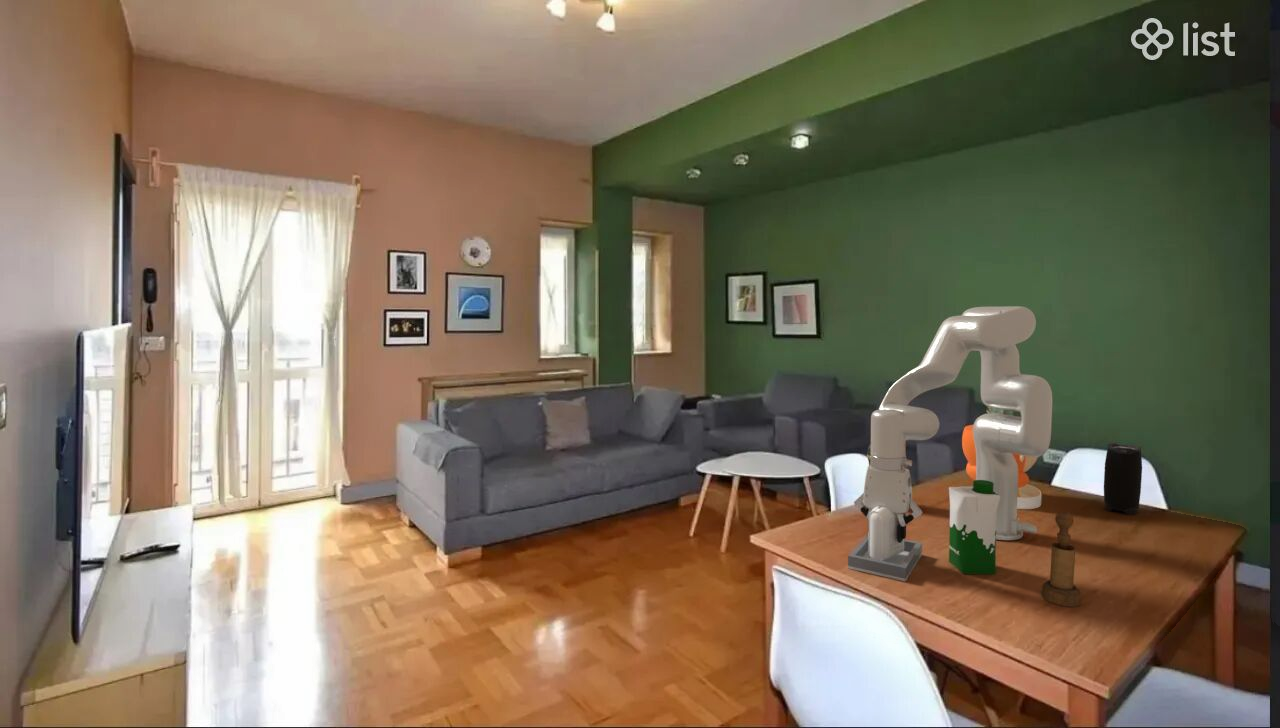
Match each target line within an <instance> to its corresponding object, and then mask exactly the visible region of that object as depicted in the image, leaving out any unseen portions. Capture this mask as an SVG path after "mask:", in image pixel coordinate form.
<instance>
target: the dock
mask: <svg viewBox="0 0 1280 728" xmlns="http://www.w3.org/2000/svg"><path fill="white" fill-rule="evenodd" d="M922 554H923V543H922V542H920V541H914V540H910V539H906V538H905V539H904V551H903V552H901V553H899V554H897V555H894V556H892V557H890V558H887V559H884V560H875V559H873V558H871V557H870V556H869V554H868V534H867V535H865V537H864V538H863V539H862V540H861V541H860V543H858V544H857V545H856V547H854V548H853V550H851V552H850V553H849V554H848V555H847V568H848V569H850V570H854V571H857V572H858V571H859V572H863V573H867V574H872V575H874V576H875V575H876V576H881V577H884V578H889V579H893V580H897V581H901V582H906V581H907V580H908V577H909V576H910V575H911V573H912V571H913V570H914V568H915V566H916V565H917V563H918V562H919V560H920V559H921V557H922V556H923V555H922Z"/></svg>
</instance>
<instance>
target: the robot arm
mask: <svg viewBox="0 0 1280 728" xmlns="http://www.w3.org/2000/svg"><path fill="white" fill-rule="evenodd" d="M1036 324H1037V321H1036V316H1035V314H1034V313H1033V311H1032V310H1031V309H1030V308H1027V307H1026V306H1020V305H1019V306H1016V305H1015V306H1013V305H1012V306H1009V305H1008V306H1006V305H1005V306H976V307H971V308H968V309H966V310H965V311H963V312H962V314H961V315H953V316H949V317H948V318H946V319H944V320H943V321H942V323H941V324H940V326H939V328H938V329H937V332H935V333H936V334H935V335H934V337H933V340H932V341H931V343H930V345H929V347H928V349H927V351H926V352H925V354H924V356H923V358H922V360H921V362H920V363H919V365H918V366H916V367H915V368H913V369H911V370H910V371H908V372H906V373H905V374H904V375H903V376H902V377H899V379H897V380H896V381H895V382H894V383H893V384H892V385H891V387H890V388H889V389H888V391H887V392H886V394H885V396H884V397H883V399H882V401H881V403H880V404H879V405H880V406H879V408H878V409H876V410H874V411H873V412H872V413H871V416H870V444H871V464H870V465H869V464H868V466H867V469H866V473H865V480H864V485H863V486H864V487H863V493H862V494H861V495H860V496H858V498H856V499H855V500H854V501H853V504H854V505H855V507H857V508H858V509H859V510H860V512H861V514H863V516H864V517H865V518H866V520H867V521H868V522H867V532H869V514H870V512H871V511H872V510H873V509H874V508H875V507H877V506H881V507H883V506H885V507H887V508H888V509H889V510H890V511H891V512H892V513H896V514H897V517H898V519H899V525H898V528H897V542H899V543H901V542H902V541H903V539H905V540H906V538H907V525H908V524H909V523H911V522H912V521H913V520H915V519H917V518H918V517H921V515H922V514H923V511H922V509H921V508H920V507H919V506H918V503H916V501H914V500H913V491H912V490H913V489H912V478H911V473H910V469H908V468H907V467H912V466H913V460H910V459H908V458H907V456H906V442H907V441H927V440H929V439H931V438H933V437H934V436H935V435H936V434H937V433H938V431H939V430H940V429H939V428H940V419H939V418H938V415H936V413H935V412H934V411H932V410H930V409H927V408H924V407H917V406H912V405H909V403H910V402H912V401H913V399H915V398H916V397H918V396H919V395H921V394H923V393H925V392H927V391H930V390H934V389H937V388H941V387H943V386H947V385H949V384H951V383H952V382H954V381H955V380H956V379H957V378H958V375H959V373H960V371H961V369H962V367H963V365H964V364H965V361H966V360H967V357H968V355H969V354H970V352H973V351H977V352H979V353H980V365H981V366H980V396H981V397H980V399H981V402H982V403H983V404H984V405H985V406H986V407H990V408H991V407H992V408H996V409H1002V410H1009V411H1016V412H1021V417H1017V416H1011V415H1005V414H997V413H988V412H987V413H984V414H982V415H980V416H978V417H977V418H976V419H975V420H974V423H973V424H972V425H973V438H974V443H975V448H976V480H986V481H990V482H993V484H994V485H993V491H994V492H995V493H996V494H998V495H999V496H1000V501H999V505H998V509H997V523H996V541H997V540H998V541H1015V540H1020V539H1022V538H1023V536H1024V532H1027V533H1029V534H1037V533H1038V532H1037V531H1038V529H1037V528H1038V525H1033V523H1031V522H1022V520H1019V518H1020V517H1019V515H1017V514H1018V513H1017V510H1018V509H1017V490H1018V466H1017V463H1016V461H1015V459H1014V457H1013V455H1012V454H1017V455H1022V456H1027V457H1038V458H1040V457H1042V456H1043V455H1044V454H1046V453H1047V451H1048V450H1049V447H1050V446H1051V445H1050V444H1051V439H1052V438H1051V437H1052V419H1053V418H1052V417H1053V416H1052V414H1053V393H1052V389H1051V385H1050V384H1049V382H1048V381H1047V380H1046V379H1045V378H1044V377H1041V376H1038V375H1034V374H1025V373H1023V374H1022V373H1021V372H1020V351H1019V349H1018V348H1017V346H1016V345H1017V344H1020V343H1023V342H1025V341H1026V340H1027V339H1029V338H1030V337H1031V336H1032V335H1033V333H1034V332H1035V329H1036V326H1037V325H1036ZM910 509H911V510H912V512H911V513H910V514H908V515H907V513H909V510H910Z"/></svg>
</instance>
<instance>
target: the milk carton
mask: <svg viewBox="0 0 1280 728" xmlns="http://www.w3.org/2000/svg"><path fill="white" fill-rule="evenodd" d="M972 481H973V482H972V486H966V485H965V486H963V485H961V486H949V487H948V492H949V506H950V507H949V534H948V535H949V538H948V540H949V543H948V547H949V548H948V562H949V563H950V565H953V567H954V568H956V569H957V570H958V571H959V572H960V573H962V574H963V575H996V574H997V572H996V571H997V570H996V567H997V566H996V565H997V561H996V560H997V559H996V558H997V557H996V556H997V553H996V552H997V551H996V550H997V548H996V547H997V540H996V523H997V509H998V505H999V501H1000V496H999V495H998V494H996V493H995V492H994V491H993V485H994V484H993V482H990V481H986V480H972Z"/></svg>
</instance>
